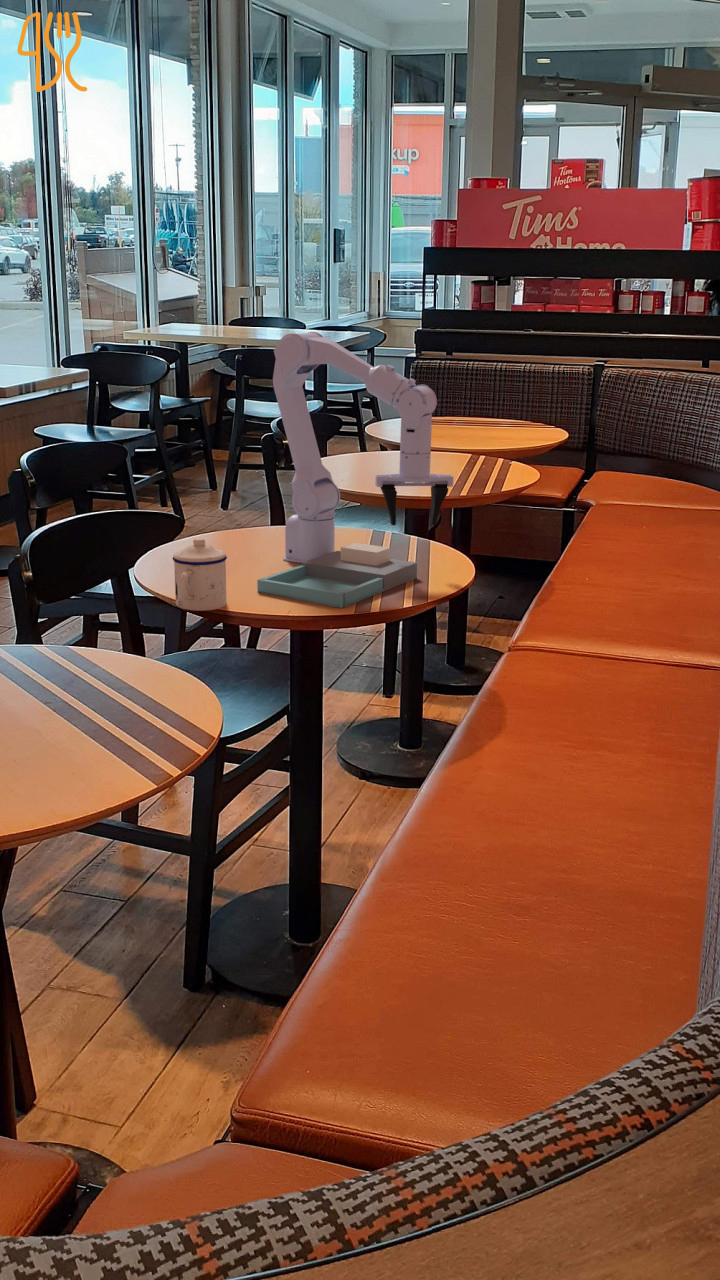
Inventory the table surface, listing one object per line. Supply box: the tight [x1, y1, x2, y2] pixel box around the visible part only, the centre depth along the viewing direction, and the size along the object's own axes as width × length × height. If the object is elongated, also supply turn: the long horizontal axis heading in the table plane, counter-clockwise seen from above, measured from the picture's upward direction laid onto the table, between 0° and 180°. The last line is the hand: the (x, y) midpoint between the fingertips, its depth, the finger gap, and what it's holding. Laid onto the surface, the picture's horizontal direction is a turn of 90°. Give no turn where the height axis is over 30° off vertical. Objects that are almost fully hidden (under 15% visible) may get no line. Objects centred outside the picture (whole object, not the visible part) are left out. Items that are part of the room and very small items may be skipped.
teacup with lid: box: [172, 537, 228, 612], centre depth 193 cm, size 12×9×12 cm
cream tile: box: [340, 542, 391, 566], centre depth 216 cm, size 8×5×2 cm, turn 58°
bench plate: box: [301, 550, 418, 592], centre depth 215 cm, size 18×12×3 cm, turn 58°
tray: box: [256, 565, 385, 609], centre depth 205 cm, size 18×14×2 cm
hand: (413, 524), depth 216 cm, fingers open, 7 cm apart
